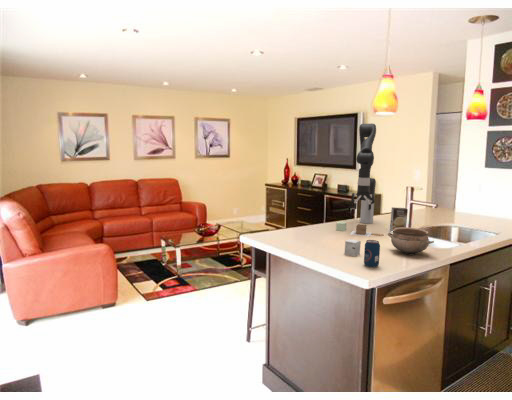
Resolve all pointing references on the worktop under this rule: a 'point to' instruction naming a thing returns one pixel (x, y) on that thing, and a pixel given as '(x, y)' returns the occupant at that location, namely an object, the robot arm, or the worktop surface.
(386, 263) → the worktop surface
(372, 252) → the soda can
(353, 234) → the letter
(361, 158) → the robot arm
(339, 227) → the sage cube
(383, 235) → the coaster
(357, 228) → the walnut block
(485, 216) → the worktop surface
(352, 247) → the skincare box
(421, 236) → the cooking pot
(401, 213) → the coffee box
